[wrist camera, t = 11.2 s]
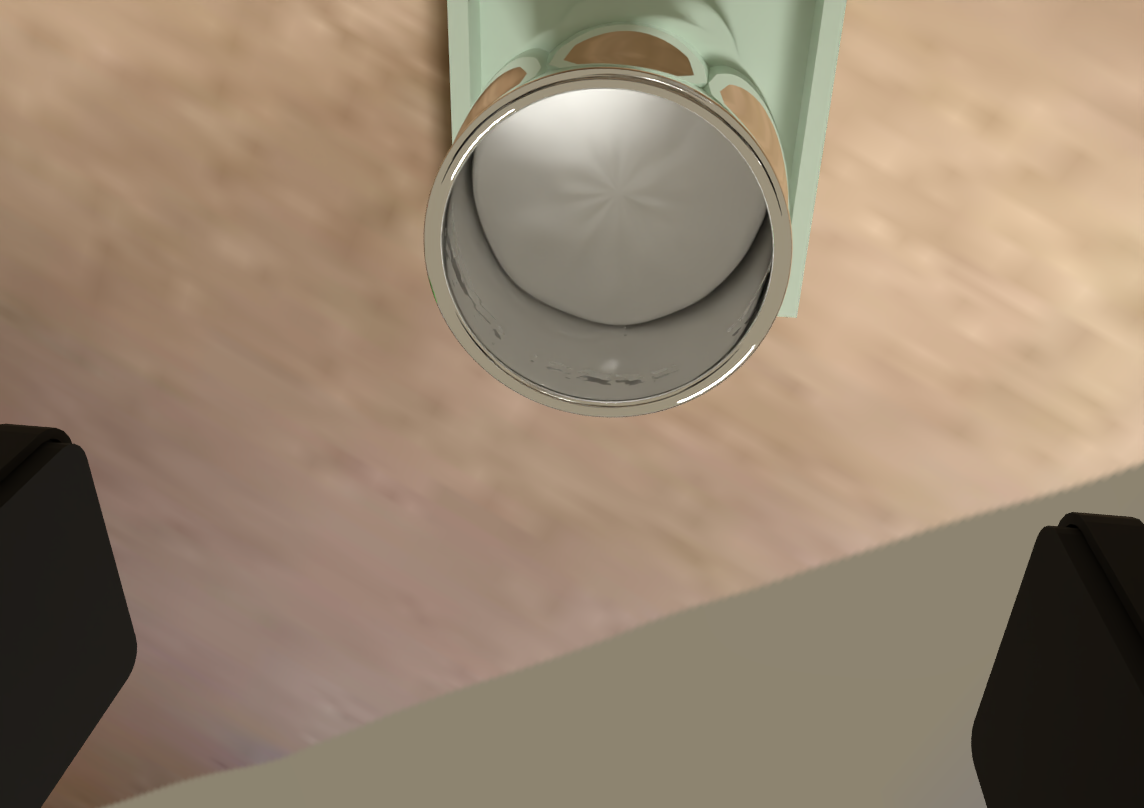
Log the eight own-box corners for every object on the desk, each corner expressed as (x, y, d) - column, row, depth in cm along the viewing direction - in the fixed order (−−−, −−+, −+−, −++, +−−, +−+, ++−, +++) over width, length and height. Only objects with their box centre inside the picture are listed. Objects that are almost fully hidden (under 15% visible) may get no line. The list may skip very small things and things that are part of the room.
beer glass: (490, 116, 31) (348, 308, 18) (606, -91, 28) (533, -37, 15) (670, 230, 32) (657, 487, 19) (801, 45, 29) (892, 205, 16)
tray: (459, -163, 28) (441, -163, 26) (856, -151, 27) (870, -151, 25) (471, 268, 34) (457, 294, 32) (790, 289, 33) (796, 317, 31)
